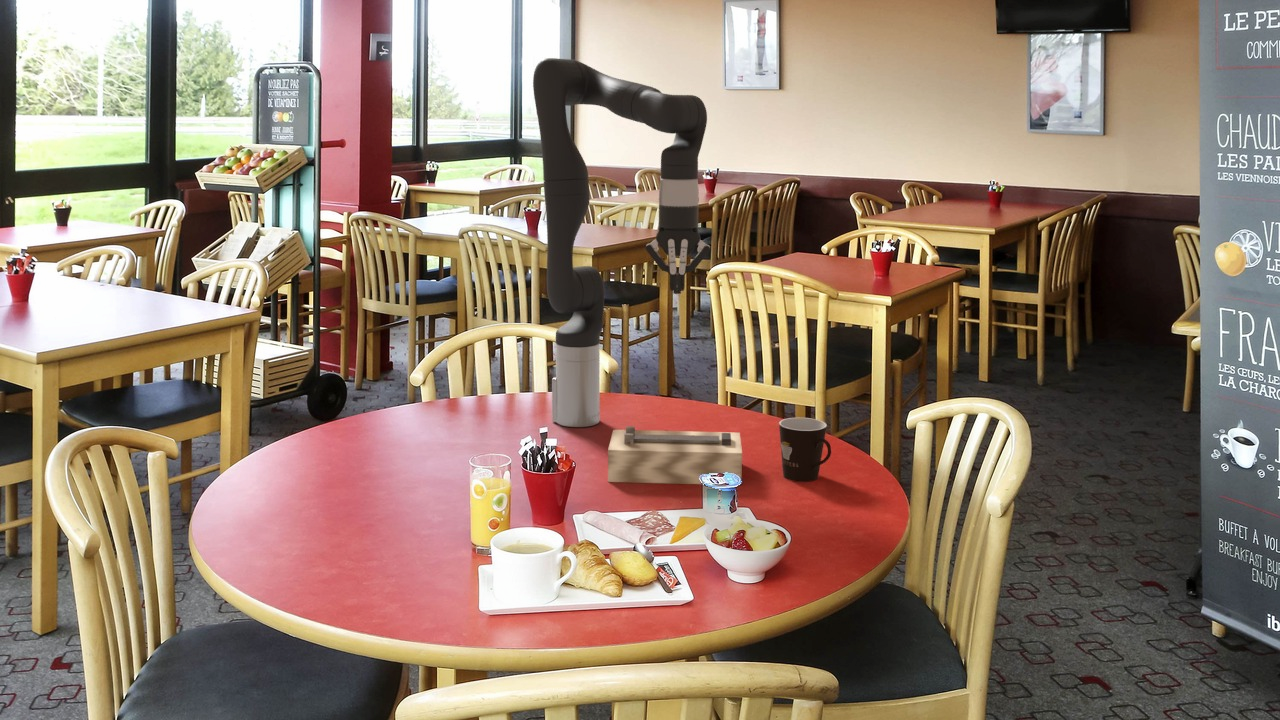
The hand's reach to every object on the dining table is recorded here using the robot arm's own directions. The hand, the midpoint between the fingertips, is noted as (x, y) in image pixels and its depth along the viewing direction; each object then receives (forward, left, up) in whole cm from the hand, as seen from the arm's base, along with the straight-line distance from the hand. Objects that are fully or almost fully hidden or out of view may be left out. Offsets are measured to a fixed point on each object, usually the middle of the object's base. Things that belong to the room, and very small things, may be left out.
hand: (677, 293), depth 222 cm
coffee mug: (+29, -6, -31) cm, 43 cm away
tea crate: (+7, -14, -31) cm, 35 cm away
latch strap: (+7, -14, -25) cm, 29 cm away
